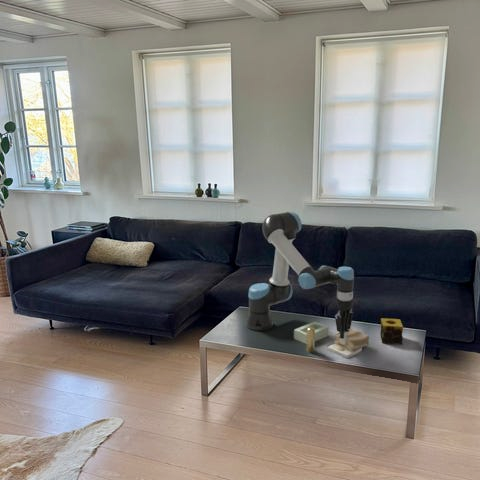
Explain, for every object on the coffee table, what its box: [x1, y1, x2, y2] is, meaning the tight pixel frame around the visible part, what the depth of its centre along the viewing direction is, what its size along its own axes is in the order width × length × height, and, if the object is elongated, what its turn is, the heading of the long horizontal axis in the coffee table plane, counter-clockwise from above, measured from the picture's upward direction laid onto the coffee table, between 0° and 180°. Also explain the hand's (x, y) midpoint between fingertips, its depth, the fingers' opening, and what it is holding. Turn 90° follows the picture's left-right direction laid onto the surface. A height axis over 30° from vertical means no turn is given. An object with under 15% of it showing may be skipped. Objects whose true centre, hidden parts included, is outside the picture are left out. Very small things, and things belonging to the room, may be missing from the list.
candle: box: [379, 317, 404, 346], centre depth 235 cm, size 10×10×10 cm
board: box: [326, 343, 363, 359], centre depth 226 cm, size 12×12×2 cm
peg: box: [305, 327, 316, 353], centre depth 225 cm, size 4×4×12 cm
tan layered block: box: [333, 328, 370, 352], centre depth 229 cm, size 12×12×5 cm
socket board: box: [293, 321, 330, 345], centre depth 241 cm, size 10×16×5 cm, turn 130°
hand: (343, 343), depth 225 cm, fingers closed
